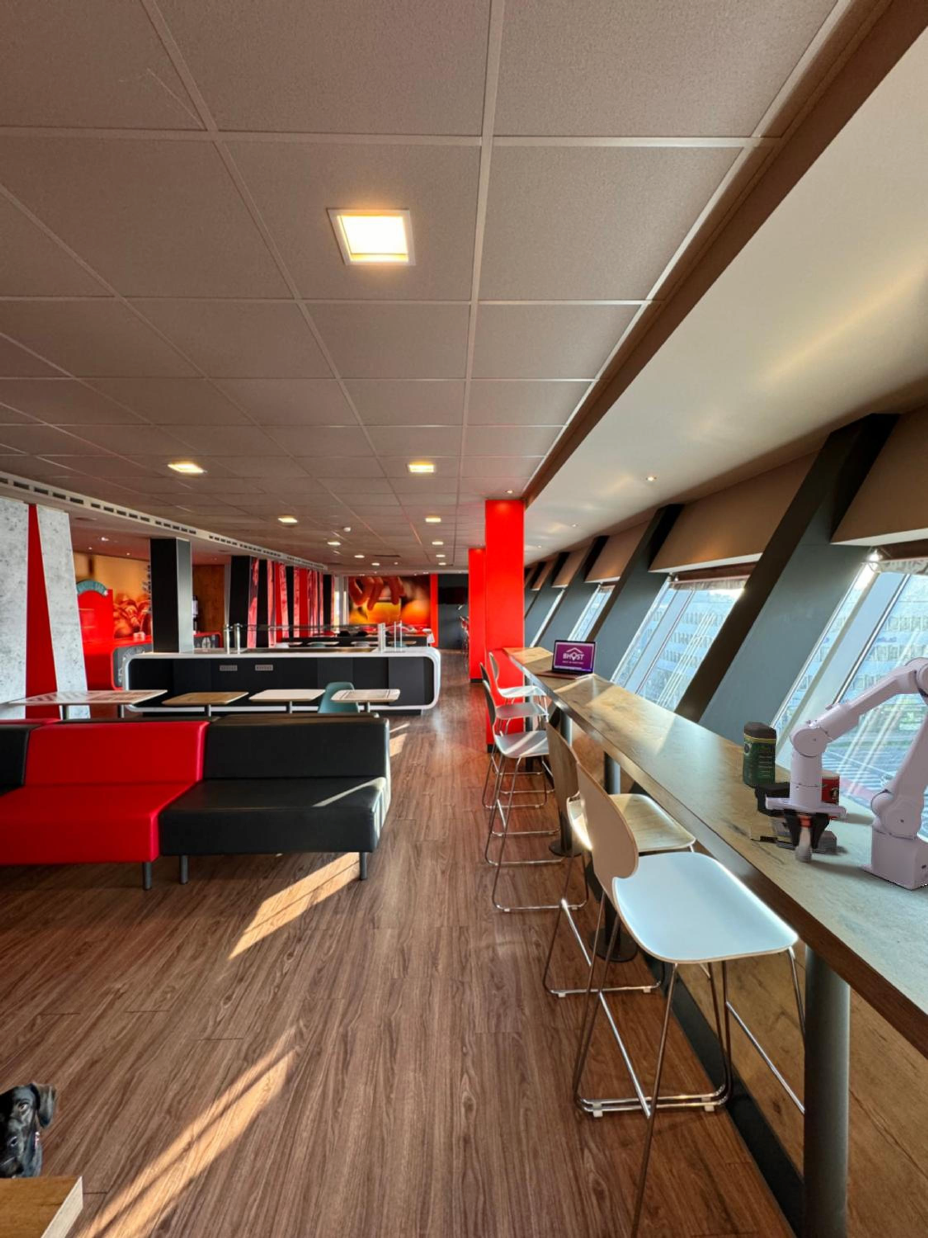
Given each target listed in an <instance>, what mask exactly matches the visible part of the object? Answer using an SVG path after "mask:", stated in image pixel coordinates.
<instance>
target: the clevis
mask: <svg viewBox="0 0 928 1238" xmlns="http://www.w3.org/2000/svg"><path fill="white" fill-rule="evenodd" d="M769 822H770V824H771V826H769V825H768V826H767V825H761V824H754V823H752V824H751V823H748V825H747V826H748V827H747V830H748V831H747V834H749V835H748V837H749V839H750V840H751V839H754V840H753V841H760V842H761V836H763V837H771V838H772V839H773V842H774V844H775V846H776V848H784V849H791V850H795V847H794V846H793V845H792V843H791V837H790V832H789V828H788V825H787V822H786V820H785V819H781V818H775V817H774V818H773V817H770V821H769ZM837 840H838V838H837V836H836V835H835V833H834V832H833V831H832V830H826V829H825V830H824V831H823V833H822V835H821V837H820V839H819V842H818V845H817V849H813V848H812V853H813V852H814V853H820V854H827V851H830V852H837V848H838V847H837V845H838V844H837V843H838V841H837Z"/></svg>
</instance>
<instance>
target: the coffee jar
mask: <svg viewBox="0 0 928 1238" xmlns="http://www.w3.org/2000/svg"><path fill="white" fill-rule="evenodd" d="M777 738H778V737H777V730H776V729H775V728H773V727H772V726H768V725H767V724H764V723H763V722H759V721H748V722H747V723H746V724H744V727H743V758H742V759H743V760H742V761H743V762H742V775H741V779H742V781H743V782H744V783H745V784H747V785H748V786H749V787H753V788H756V786H757V785H758V784H761V783H763V784H772V783H776V751H777V750H776V749H777V741H778V739H777Z"/></svg>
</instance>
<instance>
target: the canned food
mask: <svg viewBox="0 0 928 1238" xmlns="http://www.w3.org/2000/svg"><path fill="white" fill-rule="evenodd" d="M840 776H841V775H840V774H839V773H838V772H836V771H834V770H830V769H825V768H822V793H821V802H823V803H828V804H833V805H838V806H840V805H839V804H840V786H841V785H840V784H841V783H840V782H841V780H840ZM806 814H807V816H811V813H806ZM837 818H838V816H830V815H829V819H830V820H835V819H837Z"/></svg>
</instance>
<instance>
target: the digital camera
mask: <svg viewBox="0 0 928 1238" xmlns="http://www.w3.org/2000/svg"><path fill="white" fill-rule="evenodd" d="M754 788H755V789H754V796H755V798H756V799H757V802H756V803H757V805H756V806H757V807H756V808H757V809H756V810H757V812H758V811H759V812H758V813H761V814H763V815H766V816H768V817H770V818H773V817H778V816H784V815H783V813H782V810H780V809H773V810H771V809H767V807H766V797H767V798H790V781H781V782H775V783H772V784H763V783H761V784H758V785H757V786H756V787H754ZM796 813H797V814H798V813H800V812H796Z"/></svg>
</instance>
